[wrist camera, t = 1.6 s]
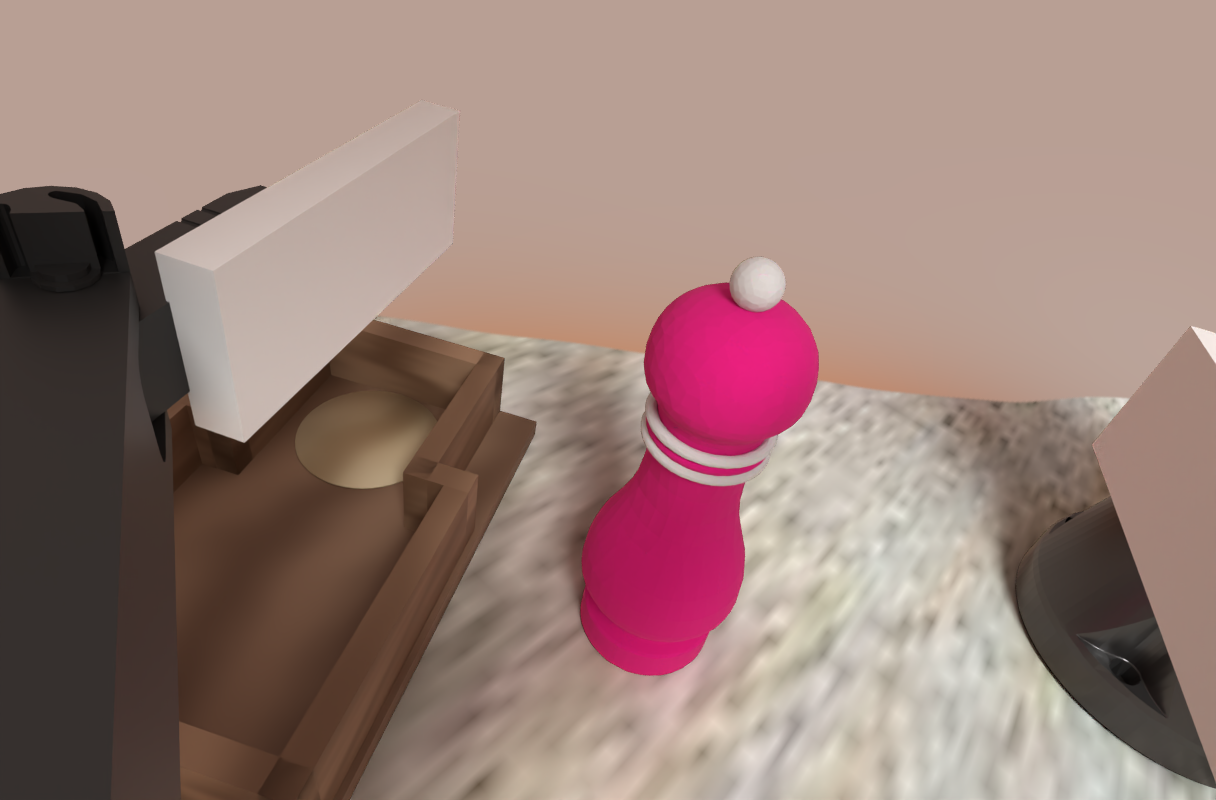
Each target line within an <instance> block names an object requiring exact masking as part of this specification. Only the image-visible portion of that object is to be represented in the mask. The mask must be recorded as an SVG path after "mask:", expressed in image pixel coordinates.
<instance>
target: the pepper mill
mask: <svg viewBox="0 0 1216 800" xmlns="http://www.w3.org/2000/svg"><path fill="white" fill-rule="evenodd" d="M785 287H786V280H785V275H784V273H783V271H782V269H781V268H780V267H779V265H778V264H777V263H776V262H774V261H773V260H771V259H769V258H765V257H751V258H748V259H746V260H744V261H742V262H741V263H740V264H739V265H738V266H737V267H736V268H735V269H734V271H733V273H732V275H731V278H730V283H719V284H710V285H705V286H701V287H698V288H696V289H693V290H691V291H688V292H686V293H684V294H683V295H681V296H679V297H678V298H676V299H675V300H674V301H673V302H672V303H671V304H670V305H668V306H667V307H666V309H665V310H664V311H663V312H662V314H661V315H660V316H659V317H658V319H657V321H656V323H655V325H654V326H653V328H652V331H651V333H650V336H649V339H648V341H647V344H646V351H645V358H644V370H645V377H646V383H647V385H648V387H649V389H650V391H651V392H650V394H649V396H648V398H647V400H646V406H645V412H644V414H643V416H642V421H641V434H642V438H643V441H644V443H645V445H646V447H647V448H646V452H645V454H644V457H643V459H642V462H641V464H640V467H639V469H638V471H637V472H636V474H635V475H634V477H633V478H632V479H631V480H630V481H629V482H628V483H627V484H626V485H625V486H624V487H623V488H621V489H620V490H619V491H618V492H617V493H615V494H614V495H613V496H612V497H611V498H610V499H609V500H608V501H607V502H606V503H605V504H604V505H603V507H602V508H601V510H600V511H599V512H598V514H597V515H596V517H595V519H594V520H593V522H592V524H591V526H590V528H589V531H588V534H587V537H586V540H585V543H584V547H583V551H582V573H583V577H584V580H585V584H586V585H585V589H584V593H583V597H582V601H581V609H580V611H581V620H582V625H583V628H584V631H585V633H586V635H587V637H588V639H589V640H590V642H591V644H592V645H593V646H594V648H595V649H596V650H597V651H598V652H599V653H600V654H601V655H602V656H603V657H604V658H605V659H606V660H607V661H609V662H610V663H612V664H614V665H616V666H618V667H620V668H621V669H623V670H625V671H628V672H631V673H635V674H640V675H649V676H650V675H664V674H668V673H672V672H674V671H677V670H679V669H681V668H683V667H684V666H686V665H687V664H689V663H690V662H691V661H693V660H694V659H695V657H696V656H697V655H698V654H699V652H700V651H701V649H702V647H703V645H704V643H705V640H706V638H707V636H708V634H709V632H710V631H711V630H713V629H715V628H716V627H717V626H718V625H719V624H720V623H721V622H722V621H723V620H724V619H725V618H726V617H727V616H728V614H729V613H730V612H731V610H732V608H733V606H734V604H735V603H736V600H737V597H738V593H739V590H740V587H741V584H742V581H743V577H744V563H745V547H744V541H743V536H742V530H741V524H740V517H739V507H740V499H741V495H742V491H743V488H744V484H745V482H747V481H749V480H751V479H753V478H754V477H756V476H757V475H759V474H760V473H761V472H762V471H763V470H764V468H765V467H766V465H767V463H768V461H769V458H770V454H771V451H772V450H773V449H774V447H775V445H776V442H777V438H778V434H780V433H782V432H783V431H785V430H786V429H788V428H790V427H791V426H793V425H794V424H795V423H796V422H797V421H798V420H799V419H800V418H801V417H802V415H803V413H804V412H805V410H806V408H807V407H808V405H809V403H810V402H811V399H812V396H813V393H814V390H815V387H816V384H817V378H818V370H819V356H818V349H817V346H816V343H815V340H814V337H813V335H812V332H811V330H810V328H809V326H808V325H807V324H806V322H805V321H804V320H803V318H802V317H801V316H800V315H799V314H798V312H797V311H796V310H795V309H794V308H792V307H791V306H790V305H789V304H788V303H786V302H785V301H783V300H781V298H782V297H783V295H784V292H785V289H786V288H785Z"/></svg>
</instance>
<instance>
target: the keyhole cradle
mask: <svg viewBox="0 0 1216 800" xmlns="http://www.w3.org/2000/svg"><path fill="white" fill-rule="evenodd" d="M504 359H505V358H502V357H499V356H496V355H492V354H489V353H485V352H482V351H478V350H475V349H472V348H468V347H465V346H461V345H458V344H455V343H451V342H448V341H444V340H441V339H437V338H434V337H431V336H427V335H424V334H420V333H417V332H414V331H410V330H407V329H403V328H400V327H396V326H393V325H390V324H386V323H383V322H379V321H376V320H372V321H371V322H370V323H369V324H368V325H367V326H366V327H365V328H364V329H363V330H362V331H361V332H360V333H359V334H358V335H357V336H356V337H355V338H354V339H353V340H351V341H350V342H349V343H348V344H347V345H346V346H345V347H344V348H343V349H342V350H341V351H340V352H339V353H338V354H337V355H336V356H335V357H334V358H333V359H332V360H331V361H330V362H328V363H327V364H326V365H325V366H324V367H323V368H322V369H321V370H320V371H319V372H318V373H317V374H316V375H315V376H314V377H313V378H312V379H311V380H310V381H309V382H308V383H306V384H305V385H304V386H303V387H302V388H301V389H300V390H299V391H298V392H297V393H296V394H295V395H294V396H293V397H292V398H291V399H290V400H289V401H288V402H287V403H286V404H285V405H283V406H282V407H281V408H280V409H279V410H278V411H277V412H276V413H275V414H274V415H273V416H272V417H271V418H270V419H269V420H268V421H267V422H266V423H265V424H264V425H263V426H262V427H260V428H259V429H258V430H257V431H256V432H255V433H254V434H253V435H252V436H251V437H250V438H249V439H248V440H247V441H246V442H245V443H244V442H241V441H238V440H235V439H232V438H230V437H227V436H224V435H221V434H218V433H216V432H213V431H210V430H207V429H204V428H201V427H199V426H196V425H195V421H194V417H193V413H192V409H191V404H190V400H189V396H188V393H187V394H186V395H185V396H184V397H182V398H181V399H180V400H179V401H177V402H176V403H175V404H174V405H172V406H171V407H170V408H169V409H167V412H168V416H169V419H170V423H171V427H172V456H173V497H174V538H175V579H176V619H177V660H178V701H179V742H180V782H181V800H350V798H351V796H352V794H353V792H354V790H355V788H356V786H357V784H358V782H359V780H360V778H361V776H362V774H363V772H364V770H365V768H366V766H367V764H368V762H369V760H370V758H371V756H372V754H373V752H374V750H375V748H376V746H377V744H378V742H379V740H380V739H381V737H382V735H383V733H384V731H385V729H386V727H387V725H388V723H389V721H390V719H391V717H392V715H393V713H394V711H395V709H396V707H397V705H398V703H399V701H400V699H401V697H402V695H403V693H404V691H405V689H406V687H407V685H408V683H409V681H410V679H411V677H412V675H413V673H414V671H415V669H416V667H417V666H418V664H419V662H420V660H421V658H422V656H423V654H424V652H425V650H426V648H427V646H428V644H429V642H430V640H431V638H432V636H433V634H434V632H435V630H436V628H437V626H438V624H439V622H440V620H441V618H442V616H443V614H444V612H445V610H446V608H447V606H448V604H449V602H450V600H451V598H452V596H453V594H454V593H455V591H456V589H457V587H458V585H459V583H460V581H461V579H462V577H463V575H464V573H465V571H466V569H467V567H468V565H469V563H470V561H471V559H472V557H473V555H474V553H475V551H476V549H477V547H478V545H479V543H480V541H481V539H482V537H483V535H484V533H485V531H486V529H487V527H488V525H489V523H490V521H491V519H492V518H493V516H494V514H495V512H496V510H497V508H498V506H499V504H500V502H501V500H502V498H503V496H504V494H505V492H506V490H507V488H508V486H509V484H510V482H511V480H512V478H513V476H514V474H515V472H516V470H517V468H518V466H519V464H520V462H521V460H522V458H523V456H524V454H525V452H526V450H527V448H528V446H529V445H530V443H531V441H532V439H533V437H534V435H535V429H536V422H535V421H532V420H529V419H525V418H522V417H519V416H515V415H512V414H509V413H505V412H502V411H500V404H501V393H502V381H503V370H504Z"/></svg>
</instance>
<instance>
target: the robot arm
mask: <svg viewBox="0 0 1216 800" xmlns="http://www.w3.org/2000/svg"><path fill="white" fill-rule="evenodd" d="M459 119H460V111H459V110H456V109H452V108H449V107H445V106H441V105H438V104H435V103H432V102H428V101H425V100H420V101H418V102H417V103H415V104H413V105H411V106H410V107H408V108H406V109H404V110H403V111H401V112H399V113H397V114H396V115H394V116H392V117H391V118H388V119H387V120H385V121H383V122H381V123H380V124H378V125H376V126H374V127H373V128H371V129H369V130H367V131H366V132H364V133H362V134H361V135H359V136H357V137H355V138H353V139H352V140H350V141H348V142H346V143H345V144H343V145H341V146H339V147H338V148H336V149H334V150H332V151H331V152H329V153H327V154H325V155H324V156H322V157H320V158H318V159H316V160H315V161H313V162H311V163H310V164H308V165H306V166H304V167H302V168H301V169H299V170H297V171H295V172H294V173H292V174H290V175H288V176H287V177H285V178H283V179H281V180H280V181H278V182H276V183H274V184H273V185H271V186H269V187H264V186H261V185H260V186H257V187H252V188H248V189H244V190H240V191H236V192H232V193H228V194H226V195H224V196H222V197H220V198H218V199H216V200H214V201H213V202H211V203H209V204H207V205H205V206H203V207H202V210H201V211H199V210H196V211H194V212H192V213H190V214H189V215H187V216H185V217H183V218H182V221H181V222H178V221H176V222H174V223H172V224H170V225H168V226H167V227H165V228H163V229H161V230H159V231H157V232H155V233H154V234H152V235H150V236H148V237H146V238H144V239H143V240H141V241H139V242H137V243H135V244H134V245H132V246H130V247H128V248H126V249H124V245H123V242H122V238H121V234H120V230H119V227H118V223H117V219H116V215H115V211H114V209H113V206H112V204H111V202H110V200H108V199H106V198H104V197H103V196H101V195H100V194H98V193H95V192H92V191H87V190H84V189H80V188H75V187H74V188H73V187H58V186H45V187H34V188H23V189H19V190H15V191H11V192H7V193H3V194H0V800H181V782H180V742H179V701H178V660H177V619H176V579H175V538H174V497H173V456H172V427H171V423H170V419H169V416H168V412H167V409H169V408H170V407H171V406H172V405H174V404H175V403H176V402H177V401H179V400H180V399H181V398H182V397H184V396H185V395H186V394H187V393H188V396H189V400H190V404H191V409H192V413H193V417H194V421H195V425H196V426H199V427H201V428H204V429H207V430H210V431H213V432H216V433H218V434H221V435H224V436H227V437H230V438H232V439H235V440H238V441H241V442H244V443H245V442H246V441H247V440H248V439H249V438H250V437H251V436H252V435H253V434H254V433H255V432H256V431H257V430H258V429H259V428H260V427H262V426H263V425H264V424H265V423H266V422H267V421H268V420H269V419H270V418H271V417H272V416H273V415H274V414H275V413H276V412H277V411H278V410H279V409H280V408H281V407H282V406H283V405H285V404H286V403H287V402H288V401H289V400H290V399H291V398H292V397H293V396H294V395H295V394H296V393H297V392H298V391H299V390H300V389H301V388H302V387H303V386H304V385H305V384H306V383H308V382H309V381H310V380H311V379H312V378H313V377H314V376H315V375H316V374H317V373H318V372H319V371H320V370H321V369H322V368H323V367H324V366H325V365H326V364H327V363H328V362H330V361H331V360H332V359H333V358H334V357H335V356H336V355H337V354H338V353H339V352H340V351H341V350H342V349H343V348H344V347H345V346H346V345H347V344H348V343H349V342H350V341H351V340H353V339H354V338H355V337H356V336H357V335H358V334H359V333H360V332H361V331H362V330H363V329H364V328H365V327H366V326H367V325H368V324H369V323H370V322H371V321H372V320H373V319H375V318H376V317H377V316H378V315H379V314H380V313H381V312H382V311H383V310H384V309H385V308H386V307H387V306H388V305H389V304H390V303H391V302H392V301H393V300H394V299H395V298H396V297H398V296H399V295H400V294H401V293H402V292H403V291H404V290H405V289H406V288H407V287H408V286H409V285H410V284H411V283H412V282H413V281H414V280H415V279H416V278H417V277H418V276H419V275H420V274H422V273H423V272H424V271H425V270H426V269H427V268H428V267H429V266H430V265H431V264H432V263H433V262H434V261H435V260H436V259H437V258H438V257H439V256H440V255H441V254H443V253H444V252H445V251H446V250H447V249H448V248H449V247H450V246H451V245H452V244H453V231H454V212H455V194H456V174H457V157H458V138H459ZM1092 446H1093V449H1094V452H1095V454H1096V457H1097V460H1098V463H1099V465H1100V468H1101V471H1102V474H1103V476H1104V479H1105V482H1106V484H1107V487H1108V490H1109V493H1110V495H1111V496H1110V497H1108V498H1106V499H1105V500H1103V501H1101V502H1099V503H1097V504H1096V505H1094V506H1092V507H1091V508H1089V509H1087V510H1085V511H1082V512H1078V513H1074V514H1072V515H1070V516H1068V517H1065V518H1063V519H1061V520H1059V521H1058V522H1056V523H1055V524H1053V525H1052V526H1051V527H1050V528H1048V529H1047V530H1046V531H1045V532H1044V533H1043V534H1042V536H1041V537H1040V538H1039V539H1038V540H1037V541H1036V543H1035V544H1034V545H1033V546H1032V547H1031V548H1030V550H1029V551H1028V552H1027V553H1026V554H1025V556H1024V557H1023V559H1022V561H1021V563H1020V565H1019V568H1018V572H1017V577H1016V595H1017V601H1018V606H1019V610H1020V613H1021V616H1022V619H1023V622H1024V624H1025V627H1026V629H1027V631H1028V633H1029V635H1030V637H1031V639H1032V641H1033V643H1034V645H1035V647H1036V648H1037V650H1038V652H1039V653H1040V655H1041V656H1042V658H1043V659H1044V661H1045V662H1046V664H1047V665H1048V667H1049V668H1050V669H1051V671H1052V672H1053V673H1054V675H1055V676H1056V677H1057V678H1058V680H1059V681H1060V682H1061V683H1062V684H1063V686H1064V687H1065V688H1066V689H1067V690H1068V691H1069V692H1070V694H1071V695H1072V696H1073V697H1074V698H1075V699H1076V700H1077V701H1078V702H1079V703H1080V704H1081V705H1082V706H1083V707H1084V708H1085V709H1086V710H1087V711H1088V712H1089V713H1090V714H1091V715H1093V716H1094V717H1095V718H1096V719H1097V720H1098V721H1099V722H1100V723H1102V724H1103V725H1104V726H1105V727H1106V728H1108V729H1109V730H1110V731H1111V732H1113V733H1114V734H1115V735H1116V736H1118V737H1119V738H1120V739H1122V740H1123V741H1124V742H1126V743H1127V744H1129V745H1130V746H1132V747H1133V748H1134V749H1136V750H1137V751H1139V752H1140V753H1142V754H1144V755H1145V756H1147V757H1148V758H1150V759H1152V760H1153V761H1155V762H1157V763H1159V764H1160V765H1162V766H1164V767H1166V768H1168V769H1170V770H1172V771H1173V772H1176V773H1178V774H1180V775H1182V776H1184V777H1186V778H1189V779H1191V780H1193V781H1196V782H1198V783H1201V784H1204V785H1207V786H1210V787H1212V788H1216V333H1213V332H1210V331H1206V330H1203V329H1200V328H1196V327H1193V326H1190V327H1189V328H1188V330H1187V331H1186V332H1185V333H1184V334H1183V336H1182V337H1181V338H1180V339H1179V340H1178V342H1177V343H1176V344H1175V345H1174V346H1173V348H1172V349H1171V350H1170V351H1169V352H1168V354H1167V355H1166V356H1165V357H1164V359H1163V360H1162V361H1161V362H1160V363H1159V365H1158V366H1157V367H1156V368H1155V369H1154V371H1153V372H1152V373H1151V374H1150V375H1149V376H1148V378H1147V379H1146V380H1145V381H1144V382H1143V384H1142V385H1141V386H1140V387H1139V388H1138V390H1137V391H1136V392H1135V393H1134V394H1133V396H1132V397H1131V398H1130V399H1129V401H1128V402H1127V403H1126V404H1125V405H1124V407H1123V408H1122V409H1121V410H1120V411H1119V413H1118V414H1117V415H1116V416H1115V417H1114V419H1113V420H1112V421H1111V422H1110V423H1109V425H1108V426H1107V427H1106V428H1105V429H1104V431H1103V432H1102V433H1101V434H1100V435H1099V437H1098V438H1097V439H1096V440H1095V441H1094V443H1093V444H1092Z"/></svg>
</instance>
